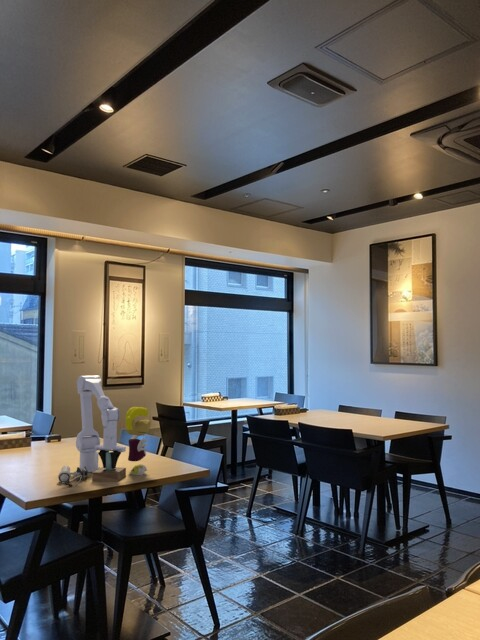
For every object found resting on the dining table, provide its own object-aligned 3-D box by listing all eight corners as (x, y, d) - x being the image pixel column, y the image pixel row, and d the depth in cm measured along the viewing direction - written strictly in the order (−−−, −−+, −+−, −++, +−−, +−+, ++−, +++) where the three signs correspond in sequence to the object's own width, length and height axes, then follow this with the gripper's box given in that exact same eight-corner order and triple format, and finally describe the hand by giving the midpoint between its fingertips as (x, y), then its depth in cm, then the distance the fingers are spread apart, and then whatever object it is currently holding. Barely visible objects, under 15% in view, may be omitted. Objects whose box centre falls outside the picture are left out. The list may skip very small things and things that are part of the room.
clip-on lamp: (85, 493, 207) (87, 474, 224) (87, 478, 206) (88, 460, 223) (55, 492, 204) (59, 473, 221) (57, 477, 203) (60, 459, 220)
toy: (149, 476, 222) (150, 408, 225) (122, 477, 221) (123, 408, 223) (150, 466, 244) (151, 404, 247) (125, 467, 242) (127, 404, 245)
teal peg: (104, 474, 219) (104, 453, 220) (108, 472, 223) (108, 451, 223) (111, 474, 218) (111, 453, 219) (115, 472, 222) (115, 452, 222)
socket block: (102, 474, 226) (102, 467, 226) (125, 475, 225) (125, 467, 225) (92, 480, 215) (92, 472, 216) (116, 481, 214) (116, 473, 214)
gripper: (129, 435, 223) (128, 467, 222) (100, 434, 227) (100, 464, 226) (121, 438, 216) (120, 470, 215) (91, 436, 221) (91, 468, 220)
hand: (109, 467), depth 220 cm, fingers closed on teal peg, 4 cm apart
